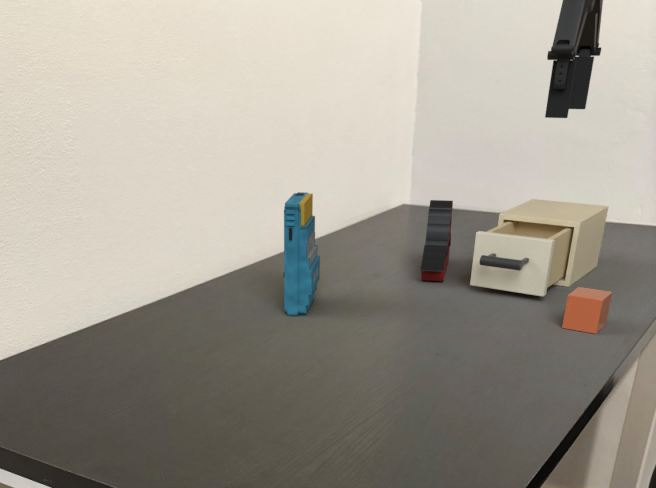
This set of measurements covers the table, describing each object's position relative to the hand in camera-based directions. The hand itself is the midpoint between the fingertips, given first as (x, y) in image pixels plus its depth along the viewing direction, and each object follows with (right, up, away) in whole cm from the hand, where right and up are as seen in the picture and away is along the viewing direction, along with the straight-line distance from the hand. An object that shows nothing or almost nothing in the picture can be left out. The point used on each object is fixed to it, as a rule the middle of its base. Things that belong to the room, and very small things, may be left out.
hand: (565, 113), depth 108 cm
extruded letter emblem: (-13, -15, +23) cm, 30 cm away
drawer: (-3, -20, +13) cm, 24 cm away
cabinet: (+5, -15, +22) cm, 27 cm away
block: (+2, -30, -2) cm, 30 cm away
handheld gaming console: (-36, -25, +8) cm, 44 cm away
